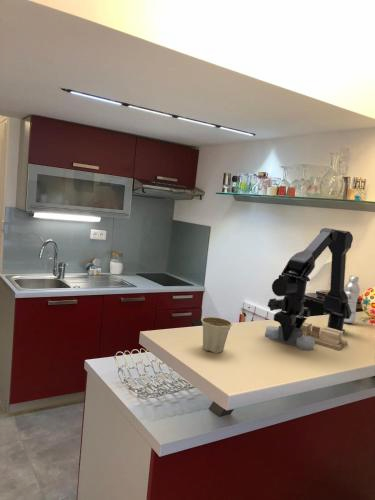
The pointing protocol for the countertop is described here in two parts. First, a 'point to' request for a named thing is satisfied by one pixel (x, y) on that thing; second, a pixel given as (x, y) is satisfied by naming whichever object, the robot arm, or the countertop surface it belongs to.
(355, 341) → the countertop surface
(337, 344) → the display stand
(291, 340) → the grey dumbbell shape
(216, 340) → the flower pot
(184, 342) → the countertop surface
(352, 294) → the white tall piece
